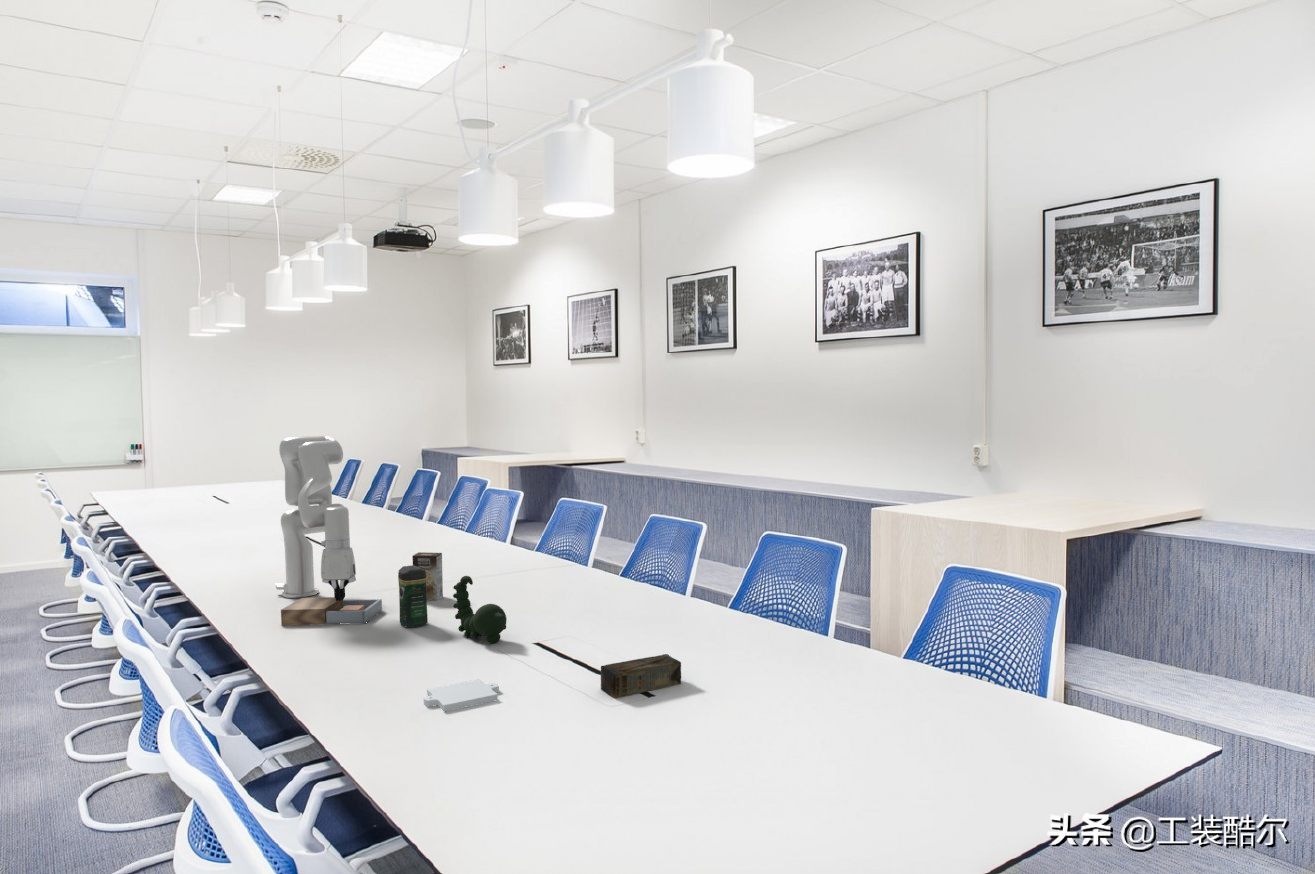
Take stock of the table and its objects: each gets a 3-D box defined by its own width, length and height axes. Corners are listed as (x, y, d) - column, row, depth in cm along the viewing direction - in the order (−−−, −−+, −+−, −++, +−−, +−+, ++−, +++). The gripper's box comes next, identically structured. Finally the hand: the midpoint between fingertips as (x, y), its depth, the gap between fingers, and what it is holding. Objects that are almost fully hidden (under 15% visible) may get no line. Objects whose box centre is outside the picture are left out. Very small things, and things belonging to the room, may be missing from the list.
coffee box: (412, 600, 305) (410, 555, 304) (419, 596, 311) (417, 552, 311) (437, 600, 304) (436, 555, 303) (444, 596, 310) (442, 552, 310)
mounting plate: (488, 684, 216) (488, 677, 216) (507, 699, 205) (507, 691, 205) (416, 698, 206) (416, 691, 206) (432, 715, 195) (432, 707, 195)
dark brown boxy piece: (683, 685, 212) (682, 658, 211) (613, 700, 202) (613, 673, 202) (666, 676, 219) (666, 650, 218) (598, 691, 209) (598, 664, 209)
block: (357, 609, 279) (358, 618, 279) (364, 605, 285) (364, 614, 285) (339, 609, 279) (339, 619, 279) (346, 605, 285) (346, 614, 285)
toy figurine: (448, 639, 261) (492, 649, 242) (443, 577, 261) (486, 581, 243) (475, 633, 267) (520, 642, 249) (470, 572, 267) (515, 576, 249)
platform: (281, 625, 275) (280, 609, 275) (302, 612, 291) (301, 597, 291) (325, 624, 275) (324, 608, 275) (343, 611, 291) (343, 596, 291)
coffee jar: (431, 625, 271) (429, 567, 270) (406, 629, 267) (403, 570, 266) (421, 619, 279) (419, 562, 278) (397, 623, 275) (394, 565, 274)
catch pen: (325, 624, 275) (324, 611, 275) (343, 611, 291) (343, 599, 291) (365, 623, 275) (365, 611, 275) (382, 610, 291) (381, 599, 291)
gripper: (310, 546, 278) (312, 603, 279) (356, 546, 278) (358, 602, 279) (319, 542, 286) (321, 597, 286) (364, 542, 285) (366, 596, 286)
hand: (339, 599), depth 283 cm, fingers closed
